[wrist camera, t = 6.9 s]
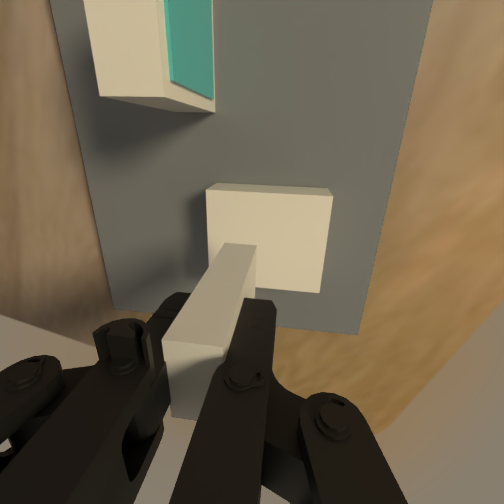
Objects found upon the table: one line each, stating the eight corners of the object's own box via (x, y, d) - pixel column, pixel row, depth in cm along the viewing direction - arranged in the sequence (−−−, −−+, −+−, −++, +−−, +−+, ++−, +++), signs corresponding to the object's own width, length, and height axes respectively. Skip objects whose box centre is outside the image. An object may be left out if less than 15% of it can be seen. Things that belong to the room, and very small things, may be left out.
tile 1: (217, 112, 16) (168, 97, 10) (175, 112, 16) (99, 95, 10) (215, -21, 14) (147, -159, 7) (164, -19, 14) (58, -149, 8)
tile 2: (219, 265, 20) (315, 273, 19) (209, 282, 18) (319, 293, 17) (217, 182, 18) (327, 187, 17) (205, 189, 15) (333, 196, 14)
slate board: (354, 325, 22) (357, 335, 21) (122, 300, 24) (114, 308, 23) (446, -102, 12) (461, -125, 11) (50, -75, 15) (30, -92, 14)
